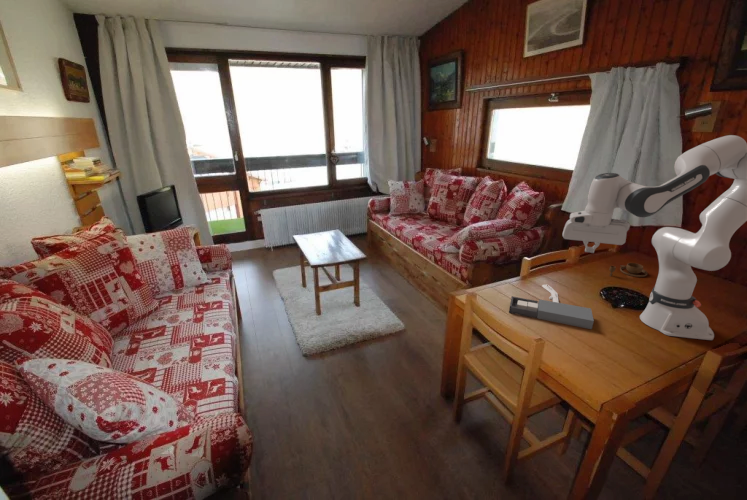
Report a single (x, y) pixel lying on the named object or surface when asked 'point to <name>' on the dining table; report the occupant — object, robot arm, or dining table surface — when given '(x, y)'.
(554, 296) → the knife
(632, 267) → the place setting
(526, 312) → the tray
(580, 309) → the long flat grey base
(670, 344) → the dining table surface
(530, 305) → the tile
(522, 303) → the tile
